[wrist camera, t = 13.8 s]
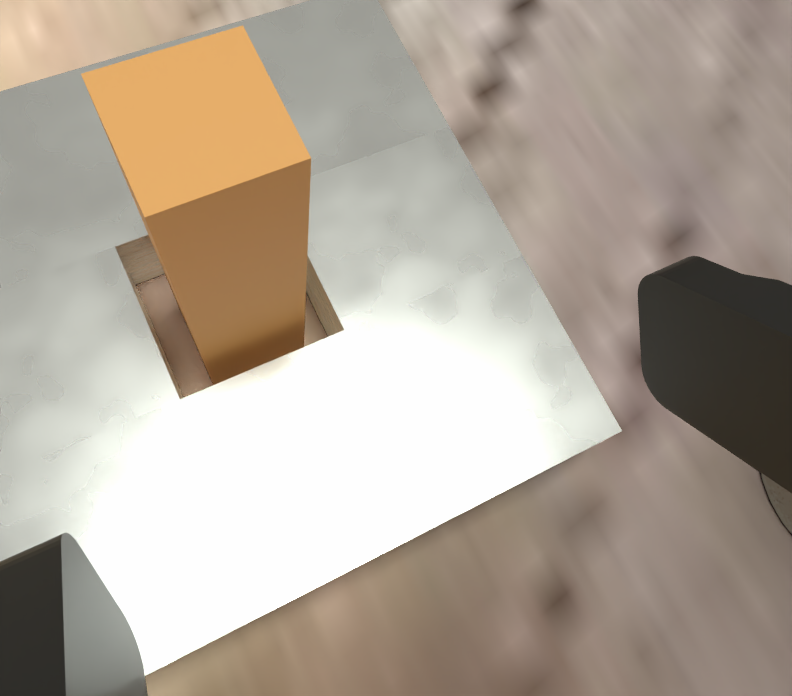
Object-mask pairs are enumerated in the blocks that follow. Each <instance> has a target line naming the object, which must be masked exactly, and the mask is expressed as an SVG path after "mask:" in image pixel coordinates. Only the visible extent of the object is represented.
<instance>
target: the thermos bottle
mask: <svg viewBox="0 0 792 696" xmlns="http://www.w3.org/2000/svg"><path fill="white" fill-rule="evenodd" d="M761 475H762V480H763V483H764V485H765V488H766V491H767V494H768V496H769V499H770V502H771V503H772V505H773V507H774V509H775V510H776V512H777V514H778V516H779V517H780V519H781V521H782V523H783V524H784V525H785V526H786V528H787V529H788V530H789V531H790V533H791V534H792V493H790V492H789V491H787V490H786V489H784V488H783V487H781V486H780V485H778V484H777V483H775V482H774V481H773V480H771V479H770V478H768V477H767V476H765V475H764V474H762V473H761Z"/></svg>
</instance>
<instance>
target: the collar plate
mask: <svg viewBox="0 0 792 696" xmlns="http://www.w3.org/2000/svg"><path fill="white" fill-rule="evenodd" d="M242 25H243V26H244V28H245V30H246V32H247V34H248V36H249V38H250V40H251V42H252V44H253V46H254V48H255V50H256V52H257V54H258V56H259V57H260V59H261V61H262V63H263V65H264V67H265V69H266V71H267V73H268V75H269V77H270V79H271V81H272V83H273V85H274V87H275V89H276V90H277V92H278V94H279V96H280V98H281V100H282V102H283V104H284V106H285V108H286V110H287V112H288V114H289V116H290V118H291V120H292V122H293V124H294V125H295V127H296V129H297V131H298V133H299V135H300V137H301V139H302V141H303V143H304V145H305V147H306V149H307V151H308V153H309V155H310V157H311V178H310V203H309V228H308V253H307V278H306V292H307V294H308V296H309V298H310V301H311V303H312V305H313V307H314V309H315V311H316V313H317V315H318V317H319V319H320V321H321V323H322V325H323V327H324V329H325V331H326V333H327V336H328V337H327V338H324V339H322V340H320V341H317V342H315V343H312V344H310V345H308V346H305V347H303V348H301V349H298V350H296V351H293V352H291V353H289V354H286V355H284V356H282V357H279V358H277V359H275V360H272V361H270V362H267V363H265V364H263V365H260V366H258V367H256V368H253V369H251V370H248V371H246V372H244V373H241V374H239V375H237V376H234V377H232V378H229V379H227V380H225V381H222V382H220V383H218V384H215V385H213V386H211V387H208V388H206V389H203V390H201V391H199V392H196V393H194V394H192V395H189V396H187V397H184V398H183V395H182V393H181V391H180V388H179V386H178V384H177V381H176V379H175V376H174V374H173V372H172V369H171V367H170V365H169V362H168V360H167V358H166V355H165V353H164V351H163V348H162V346H161V344H160V341H159V339H158V337H157V334H156V332H155V330H154V327H153V325H152V323H151V320H150V318H149V316H148V313H147V311H146V309H145V306H144V304H143V302H142V299H141V297H140V295H139V292H138V290H137V287H136V284H139V283H141V282H144V281H147V280H149V279H152V278H155V277H157V276H160V275H163V274H165V273H164V270H163V268H162V266H161V263H160V261H159V258H158V256H157V254H156V251H155V249H154V247H153V244H152V242H151V239H150V237H149V235H148V232H147V230H146V228H145V225H144V223H143V220H142V218H141V216H140V213H139V211H138V209H137V206H136V204H135V201H134V199H133V197H132V194H131V192H130V190H129V187H128V185H127V182H126V180H125V178H124V175H123V173H122V171H121V168H120V166H119V163H118V161H117V159H116V156H115V154H114V152H113V149H112V147H111V144H110V142H109V140H108V137H107V135H106V133H105V130H104V128H103V125H102V123H101V121H100V118H99V116H98V114H97V111H96V109H95V106H94V104H93V102H92V99H91V97H90V95H89V92H88V90H87V87H86V85H85V83H84V80H83V78H82V76H81V74H82V73H85V72H89V71H92V70H95V69H99V68H102V67H105V66H109V65H112V64H115V63H119V62H122V61H125V60H129V59H132V58H135V57H139V56H142V55H145V54H149V53H152V52H155V51H159V50H162V49H166V48H169V47H172V46H176V45H179V44H182V43H186V42H189V41H192V40H196V39H199V38H202V37H206V36H209V35H212V34H216V33H219V32H222V31H226V30H229V29H232V28H236V27H239V26H242ZM621 431H622V430H621V428H620V427H619V425H618V423H617V421H616V419H615V418H614V416H613V414H612V412H611V411H610V409H609V407H608V405H607V404H606V402H605V400H604V398H603V397H602V395H601V393H600V391H599V390H598V388H597V386H596V384H595V382H594V381H593V379H592V377H591V375H590V374H589V372H588V370H587V368H586V367H585V365H584V363H583V361H582V360H581V358H580V356H579V354H578V353H577V351H576V349H575V347H574V345H573V344H572V342H571V340H570V338H569V337H568V335H567V333H566V331H565V330H564V328H563V326H562V324H561V323H560V321H559V319H558V317H557V316H556V314H555V312H554V310H553V308H552V307H551V305H550V303H549V301H548V300H547V298H546V296H545V294H544V293H543V291H542V289H541V287H540V286H539V284H538V282H537V280H536V279H535V277H534V275H533V273H532V271H531V270H530V268H529V266H528V264H527V263H526V261H525V259H524V257H523V256H522V254H521V252H520V250H519V249H518V247H517V245H516V243H515V242H514V240H513V238H512V236H511V234H510V233H509V231H508V229H507V227H506V226H505V224H504V222H503V220H502V219H501V217H500V215H499V213H498V212H497V210H496V208H495V206H494V205H493V203H492V201H491V199H490V197H489V196H488V194H487V192H486V190H485V189H484V187H483V185H482V183H481V182H480V180H479V178H478V176H477V175H476V173H475V171H474V169H473V168H472V166H471V164H470V162H469V160H468V159H467V157H466V155H465V153H464V152H463V150H462V148H461V146H460V145H459V143H458V141H457V139H456V138H455V136H454V134H453V132H452V131H451V129H450V127H449V125H448V123H447V122H446V120H445V118H444V116H443V115H442V113H441V111H440V109H439V108H438V106H437V104H436V102H435V101H434V99H433V97H432V95H431V94H430V92H429V90H428V88H427V86H426V85H425V83H424V81H423V79H422V78H421V76H420V74H419V72H418V71H417V69H416V67H415V65H414V64H413V62H412V60H411V58H410V57H409V55H408V53H407V51H406V49H405V48H404V46H403V44H402V42H401V41H400V39H399V37H398V35H397V34H396V32H395V30H394V28H393V27H392V25H391V23H390V21H389V20H388V18H387V16H386V14H385V12H384V11H383V9H382V7H381V5H380V4H379V2H378V0H310V1H307V2H303V3H300V4H297V5H293V6H290V7H286V8H283V9H280V10H276V11H273V12H269V13H266V14H263V15H259V16H256V17H252V18H249V19H246V20H242V21H239V22H235V23H232V24H229V25H225V26H222V27H218V28H215V29H212V30H208V31H205V32H201V33H198V34H195V35H191V36H188V37H184V38H181V39H178V40H174V41H171V42H167V43H164V44H160V45H157V46H154V47H150V48H147V49H143V50H140V51H137V52H133V53H130V54H126V55H123V56H120V57H116V58H113V59H109V60H106V61H103V62H99V63H96V64H92V65H89V66H86V67H82V68H79V69H75V70H72V71H69V72H65V73H62V74H58V75H55V76H52V77H48V78H45V79H41V80H38V81H35V82H31V83H28V84H24V85H21V86H18V87H14V88H11V89H7V90H4V91H1V92H0V561H3V560H5V559H7V558H9V557H12V556H14V555H16V554H18V553H21V552H23V551H25V550H27V549H30V548H32V547H34V546H36V545H39V544H41V543H43V542H45V541H48V540H50V539H52V538H54V537H57V536H59V535H61V534H63V533H68V534H70V535H71V536H72V537H73V538H74V539H75V540H76V541H77V543H78V544H79V546H80V547H81V549H82V550H83V552H84V553H85V555H86V556H87V558H88V560H89V561H90V563H91V564H92V566H93V567H94V569H95V570H96V572H97V574H98V575H99V577H100V578H101V580H102V581H103V583H104V584H105V586H106V588H107V589H108V591H109V592H110V594H111V595H112V597H113V598H114V600H115V602H116V603H117V605H118V606H119V608H120V609H121V611H122V613H123V614H124V616H125V617H126V619H127V621H128V623H129V625H130V627H131V629H132V632H133V634H134V637H135V639H136V642H137V645H138V648H139V651H140V654H141V658H142V662H143V668H144V674H145V676H146V675H148V674H150V673H152V672H154V671H156V670H157V669H159V668H161V667H163V666H165V665H167V664H169V663H171V662H173V661H175V660H177V659H179V658H181V657H183V656H185V655H187V654H189V653H191V652H193V651H194V650H196V649H198V648H200V647H202V646H204V645H206V644H208V643H210V642H212V641H214V640H216V639H218V638H220V637H222V636H224V635H226V634H228V633H230V632H231V631H233V630H235V629H237V628H239V627H241V626H243V625H245V624H247V623H249V622H251V621H253V620H255V619H257V618H259V617H261V616H263V615H265V614H267V613H268V612H270V611H272V610H274V609H276V608H278V607H280V606H282V605H284V604H286V603H288V602H290V601H292V600H294V599H296V598H298V597H300V596H302V595H304V594H305V593H307V592H309V591H311V590H313V589H315V588H317V587H319V586H321V585H323V584H325V583H327V582H329V581H331V580H333V579H335V578H337V577H339V576H341V575H342V574H344V573H346V572H348V571H350V570H352V569H354V568H356V567H358V566H360V565H362V564H364V563H366V562H368V561H370V560H372V559H374V558H376V557H378V556H379V555H381V554H383V553H385V552H387V551H389V550H391V549H393V548H395V547H397V546H399V545H401V544H403V543H405V542H407V541H409V540H411V539H413V538H415V537H416V536H418V535H420V534H422V533H424V532H426V531H428V530H430V529H432V528H434V527H436V526H438V525H440V524H442V523H444V522H446V521H448V520H450V519H452V518H453V517H455V516H457V515H459V514H461V513H463V512H465V511H467V510H469V509H471V508H473V507H475V506H477V505H479V504H481V503H483V502H485V501H487V500H489V499H491V498H492V497H494V496H496V495H498V494H500V493H502V492H504V491H506V490H508V489H510V488H512V487H514V486H516V485H518V484H520V483H522V482H524V481H526V480H528V479H529V478H531V477H533V476H535V475H537V474H539V473H541V472H543V471H545V470H547V469H549V468H551V467H553V466H555V465H557V464H559V463H561V462H563V461H565V460H566V459H568V458H570V457H572V456H574V455H576V454H578V453H580V452H582V451H584V450H586V449H588V448H590V447H592V446H594V445H596V444H598V443H600V442H602V441H603V440H605V439H607V438H609V437H611V436H613V435H615V434H617V433H619V432H621Z"/></svg>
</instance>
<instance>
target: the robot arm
mask: <svg viewBox="0 0 792 696" xmlns="http://www.w3.org/2000/svg"><path fill="white" fill-rule="evenodd" d="M638 307H639V326H640V345H641V364H642V372H643V376H644V379H645V382H646V384H647V386H648V388H649V390H650V391H651V393H652V394H653V396H654V397H655V398H656V400H657V401H658V402H659V403H660V404H661V405H662V406H664V407H665V408H666V409H668V410H669V411H671V412H672V413H674V414H675V415H677V416H678V417H680V418H681V419H683V420H684V421H685V422H687V423H688V424H690V425H691V426H693V427H694V428H696V429H697V430H699V431H700V432H702V433H703V434H705V435H706V436H708V437H709V438H711V439H712V440H714V441H715V442H716V443H718V444H719V445H721V446H722V447H724V448H725V449H727V450H728V451H730V452H731V453H733V454H734V455H736V456H737V457H739V458H740V459H742V460H743V461H744V462H746V463H747V464H749V465H750V466H752V467H753V468H755V469H756V470H758V471H759V472H761V473H762V474H764V475H765V476H767V477H768V478H770V479H771V480H773V481H774V482H775V483H777V484H778V485H780V486H781V487H783V488H784V489H786V490H787V491H789V492H790V493H792V285H789V284H787V283H784V282H782V281H779V280H774V279H768V278H762V277H756V276H750V275H744V274H740V273H738V272H736V271H733V270H731V269H728V268H726V267H723V266H721V265H719V264H716V263H714V262H711V261H709V260H706V259H704V258H701V257H698V256H691V257H687V258H685V259H683V260H681V261H678V262H676V263H674V264H672V265H670V266H667V267H665V268H663V269H661V270H658V271H656V272H654V273H652V274H649V275H647V276H645V277H644V278H643V279H642V280H641V282H640V284H639V288H638ZM0 696H148V695H147V688H146V681H145V674H144V668H143V662H142V658H141V654H140V651H139V648H138V645H137V642H136V639H135V637H134V634H133V632H132V629H131V627H130V625H129V623H128V621H127V619H126V617H125V616H124V614H123V613H122V611H121V609H120V608H119V606H118V605H117V603H116V602H115V600H114V598H113V597H112V595H111V594H110V592H109V591H108V589H107V588H106V586H105V584H104V583H103V581H102V580H101V578H100V577H99V575H98V574H97V572H96V570H95V569H94V567H93V566H92V564H91V563H90V561H89V560H88V558H87V556H86V555H85V553H84V552H83V550H82V549H81V547H80V546H79V544H78V543H77V541H76V540H75V539H74V538H73V537H72V536H71V535H70V534H68V533H63V534H61V535H59V536H57V537H54V538H52V539H50V540H48V541H45V542H43V543H41V544H39V545H36V546H34V547H32V548H30V549H27V550H25V551H23V552H21V553H18V554H16V555H14V556H12V557H9V558H7V559H5V560H3V561H0Z"/></svg>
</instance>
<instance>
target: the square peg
mask: <svg viewBox="0 0 792 696" xmlns="http://www.w3.org/2000/svg"><path fill="white" fill-rule="evenodd" d="M81 76H82V78H83V80H84V83H85V85H86V87H87V90H88V92H89V95H90V97H91V99H92V102H93V104H94V106H95V109H96V111H97V114H98V116H99V118H100V121H101V123H102V125H103V128H104V130H105V133H106V135H107V137H108V140H109V142H110V144H111V147H112V149H113V152H114V154H115V156H116V159H117V161H118V163H119V166H120V168H121V171H122V173H123V175H124V178H125V180H126V182H127V185H128V187H129V190H130V192H131V194H132V197H133V199H134V201H135V204H136V206H137V209H138V211H139V213H140V216H141V218H142V220H143V223H144V225H145V228H146V230H147V232H148V235H149V237H150V239H151V242H152V244H153V247H154V249H155V251H156V254H157V256H158V258H159V261H160V263H161V266H162V268H163V270H164V273H165V275H166V277H167V280H168V282H169V285H170V287H171V289H172V292H173V294H174V296H175V299H176V301H177V304H178V306H179V308H180V310H181V313H182V315H183V317H184V320H185V322H186V324H187V326H188V329H189V331H190V333H191V335H192V338H193V340H194V342H195V344H196V347H197V349H198V351H199V353H200V356H201V358H202V360H203V362H204V365H205V367H206V369H207V371H208V374H209V376H210V378H211V381H212V383H213V385H215V384H218V383H220V382H222V381H225V380H227V379H229V378H232V377H234V376H237V375H239V374H241V373H244V372H246V371H248V370H251V369H253V368H256V367H258V366H260V365H263V364H265V363H267V362H270V361H272V360H275V359H277V358H279V357H282V356H284V355H286V354H289V353H291V352H293V351H296V350H298V349H301V348H303V347H304V328H305V303H306V278H307V253H308V228H309V203H310V178H311V157H310V155H309V153H308V151H307V149H306V147H305V145H304V143H303V141H302V139H301V137H300V135H299V133H298V131H297V129H296V127H295V125H294V124H293V122H292V120H291V118H290V116H289V114H288V112H287V110H286V108H285V106H284V104H283V102H282V100H281V98H280V96H279V94H278V92H277V90H276V89H275V87H274V85H273V83H272V81H271V79H270V77H269V75H268V73H267V71H266V69H265V67H264V65H263V63H262V61H261V59H260V57H259V56H258V54H257V52H256V50H255V48H254V46H253V44H252V42H251V40H250V38H249V36H248V34H247V32H246V30H245V28H244V26H243V25H242V26H239V27H236V28H232V29H229V30H226V31H222V32H219V33H216V34H212V35H209V36H206V37H202V38H199V39H196V40H192V41H189V42H186V43H182V44H179V45H176V46H172V47H169V48H166V49H162V50H159V51H155V52H152V53H149V54H145V55H142V56H139V57H135V58H132V59H129V60H125V61H122V62H119V63H115V64H112V65H109V66H105V67H102V68H99V69H95V70H92V71H89V72H85V73H82V74H81Z"/></svg>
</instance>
